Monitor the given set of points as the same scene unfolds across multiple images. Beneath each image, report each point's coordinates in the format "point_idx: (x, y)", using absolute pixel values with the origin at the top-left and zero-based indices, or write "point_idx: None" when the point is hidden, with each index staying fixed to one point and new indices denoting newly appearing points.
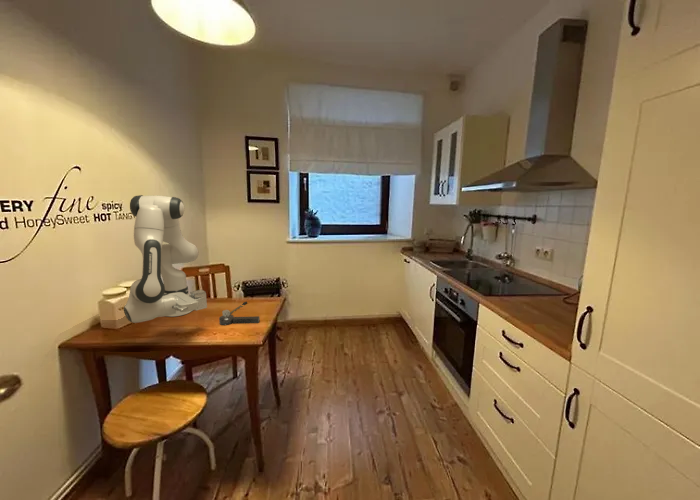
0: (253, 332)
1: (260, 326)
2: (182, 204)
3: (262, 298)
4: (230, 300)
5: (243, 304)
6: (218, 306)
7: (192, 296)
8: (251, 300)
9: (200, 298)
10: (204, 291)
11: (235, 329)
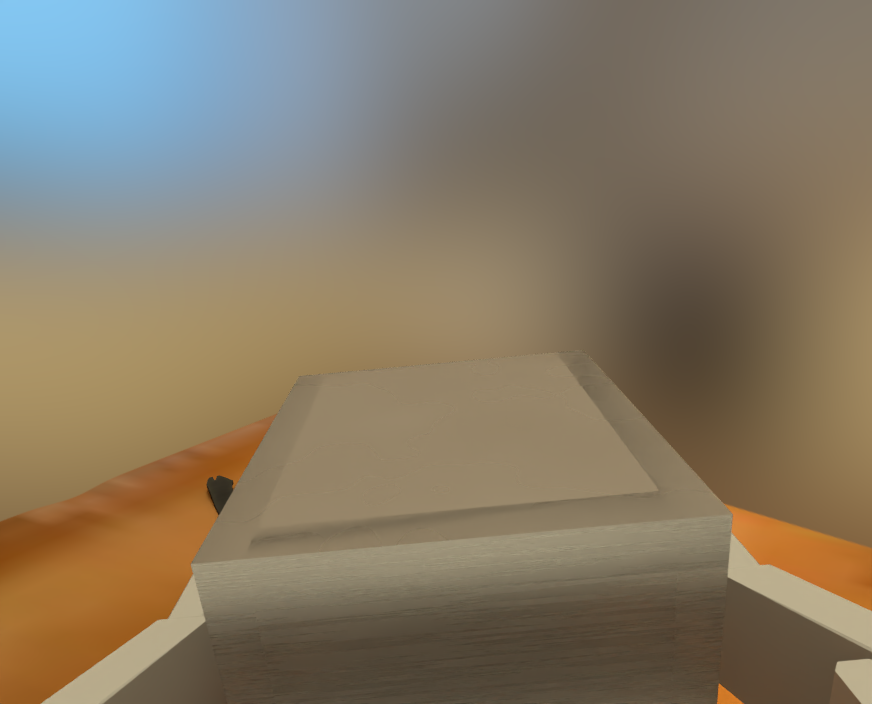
0: (866, 601)
1: (735, 536)
2: None
3: (252, 427)
4: (41, 533)
5: (224, 500)
6: (15, 627)
7: (462, 675)
8: (211, 462)
9: (746, 556)
10: (528, 359)
11: (722, 692)
